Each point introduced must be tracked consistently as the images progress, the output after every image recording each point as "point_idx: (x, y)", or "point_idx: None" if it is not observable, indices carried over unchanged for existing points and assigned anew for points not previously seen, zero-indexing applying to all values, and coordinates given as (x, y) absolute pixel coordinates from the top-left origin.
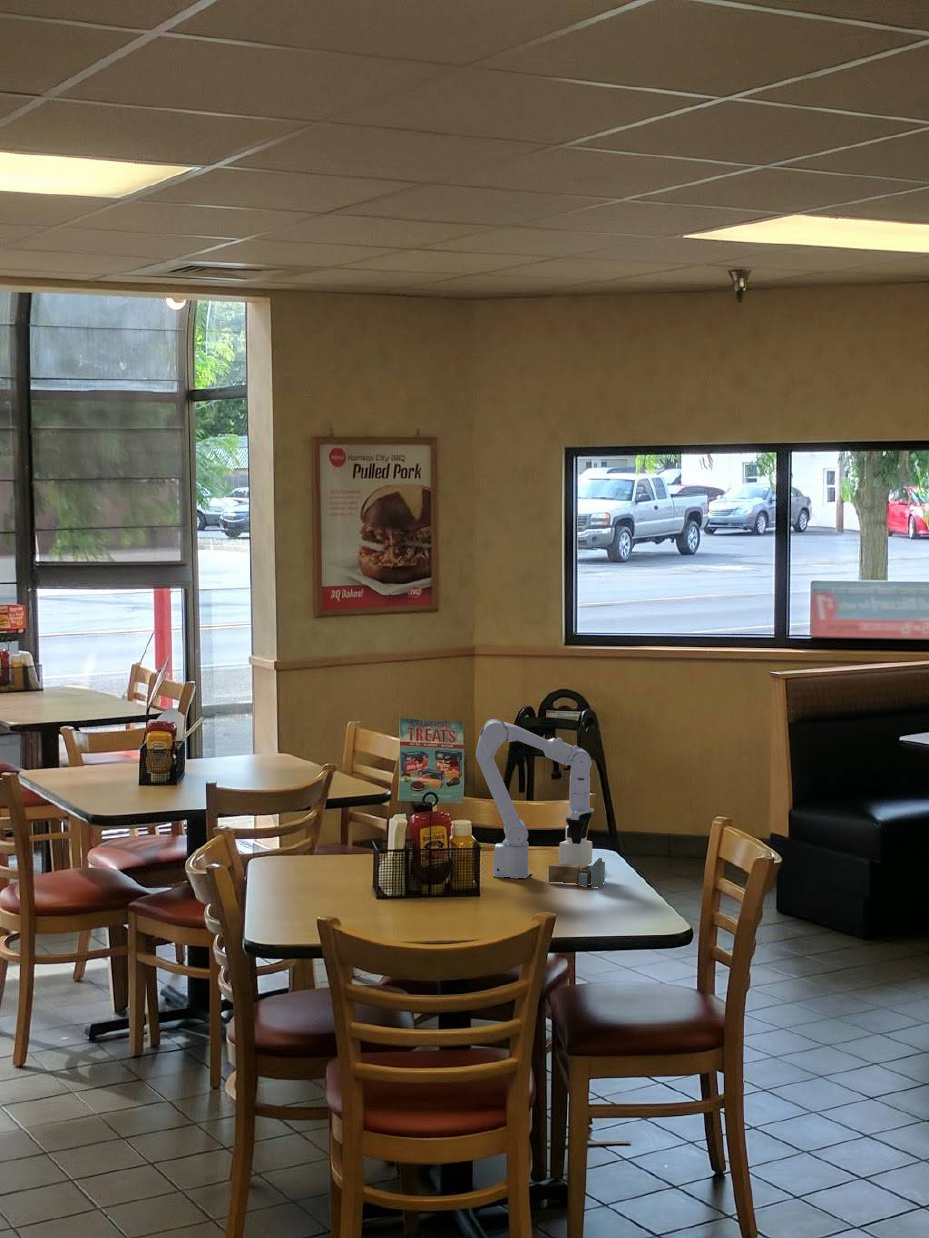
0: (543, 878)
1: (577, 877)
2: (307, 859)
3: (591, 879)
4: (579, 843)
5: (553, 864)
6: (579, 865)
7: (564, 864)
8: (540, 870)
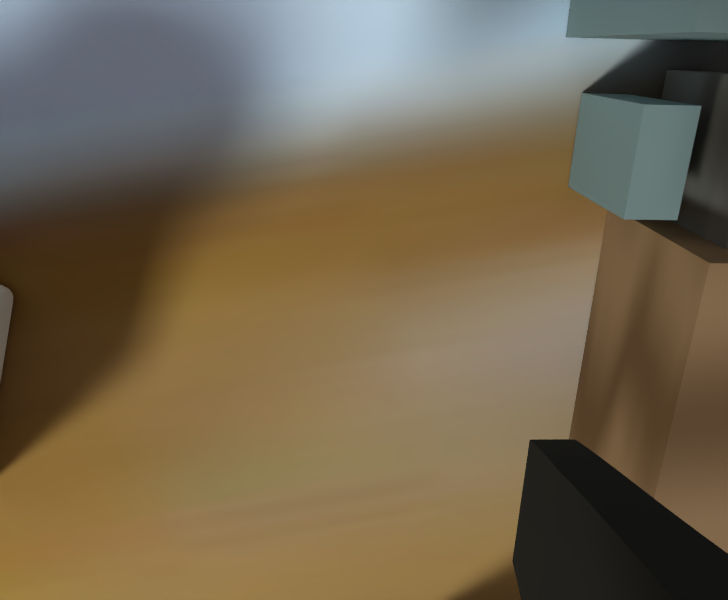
0: (476, 517)
1: None
2: None
3: (701, 72)
4: (583, 451)
5: None
6: (721, 262)
7: (685, 438)
8: (193, 587)
